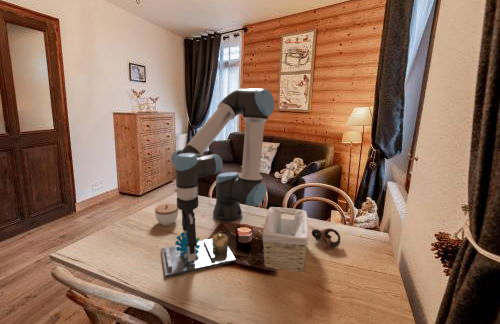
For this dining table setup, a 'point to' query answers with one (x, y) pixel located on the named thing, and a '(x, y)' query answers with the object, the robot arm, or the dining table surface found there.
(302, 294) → the dining table surface
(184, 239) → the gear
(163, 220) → the lidded jar
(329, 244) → the dark brown ring ornament
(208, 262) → the board
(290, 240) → the storage basket
